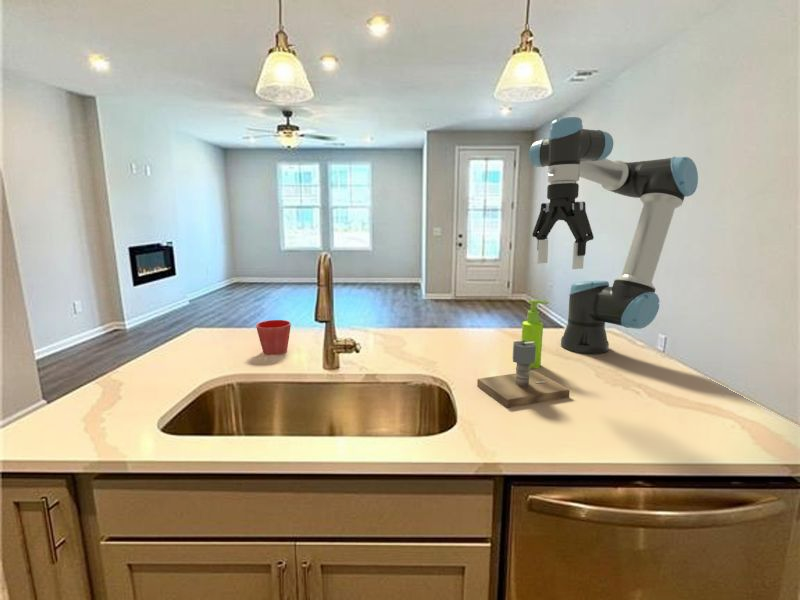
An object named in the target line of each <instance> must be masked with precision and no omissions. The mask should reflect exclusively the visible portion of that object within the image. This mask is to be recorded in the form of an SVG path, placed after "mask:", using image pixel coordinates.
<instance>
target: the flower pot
mask: <svg viewBox="0 0 800 600" xmlns="http://www.w3.org/2000/svg"><path fill="white" fill-rule="evenodd" d="M291 325H292V322H290V321H289V320H285V319H269V320H264V321H261V322H258V323H256V330H257V331H256V332H257V335H258V338H259V342H260V346H261V348H262V349H261V350H262V353H263V354H265V355H269V356H277V355H282V354H284V353H287V351H288V347H289V342H290V341H289V340H290V334H291Z"/></svg>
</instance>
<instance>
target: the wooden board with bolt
mask: <svg viewBox="0 0 800 600" xmlns="http://www.w3.org/2000/svg"><path fill="white" fill-rule="evenodd" d="M515 370H516V373H509V374H503V375H495V376H488V377H479V378H477V383H476V386H477V387H478V388H480V389H481V390H483V392H485V393H486V394H488V395H489V396H490V397H491V398H492V399H494V400H496V401H497V402H498V403H500V404H501V403H502V404H501V405H503V406H504V405H505V406H506V408H507V407H508V408H512V407H511V406H514V407H518V406H517V405H520V406H524V405H523V404H526V405H531V403H532V404H535V403H536V404H537V403H541V402H542V403H543V402H548V401H555V400H560V399H566V398H570V393H571V392H570V388H568V387H566V386H564V385H562V384H560V383H559V382H556V381H554V380H552V379H551V378H549V377H548V376H546V375H543V374H542V373H540V372H537V371H536V370H531V368H530V364H520V363H516V367H515ZM505 406H504V407H505Z"/></svg>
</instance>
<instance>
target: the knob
mask: <svg viewBox="0 0 800 600" xmlns="http://www.w3.org/2000/svg"><path fill="white" fill-rule="evenodd" d="M512 344H513V346H512V362H513V363H516V364H517V363H520V364H533V363H535V350H536V346H535V343H534V342H528V341H522V340H518V341H513V343H512Z"/></svg>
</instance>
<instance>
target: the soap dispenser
mask: <svg viewBox="0 0 800 600" xmlns="http://www.w3.org/2000/svg"><path fill="white" fill-rule="evenodd" d="M528 303H529V304H530V309H529V310H527V317H526V320H525V321H522V329H521V341H528V342H534V343H535V346H536V350H535V363H533V364H530V369H536V368H540V367H541V362H542V350H543V349H542V346H543V334H544V331H543V330H544V323H543V322H540V311H538V310H537V309H538V307H537V306H538V304H543V305H544V304H545V305H548V304H549V302H548V301H546V300H542V299H530V300H528Z"/></svg>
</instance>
